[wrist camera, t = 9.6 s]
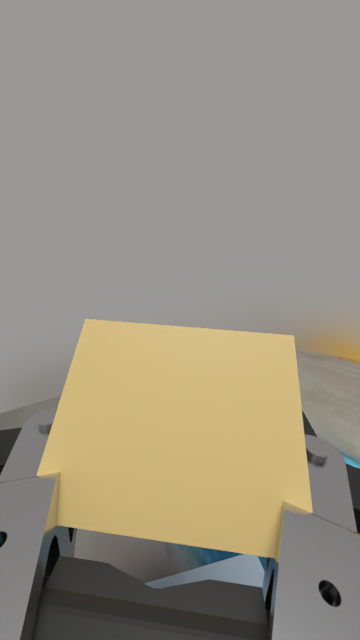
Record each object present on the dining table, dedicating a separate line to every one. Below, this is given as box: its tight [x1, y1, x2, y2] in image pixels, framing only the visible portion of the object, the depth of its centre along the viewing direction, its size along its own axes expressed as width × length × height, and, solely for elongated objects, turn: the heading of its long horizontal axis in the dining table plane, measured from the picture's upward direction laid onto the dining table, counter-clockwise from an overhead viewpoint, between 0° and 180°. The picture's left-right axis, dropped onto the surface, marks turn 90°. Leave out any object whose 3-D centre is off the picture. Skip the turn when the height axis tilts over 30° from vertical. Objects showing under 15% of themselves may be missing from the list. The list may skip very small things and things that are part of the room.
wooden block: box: [36, 319, 313, 558], centre depth 9 cm, size 4×5×10 cm
